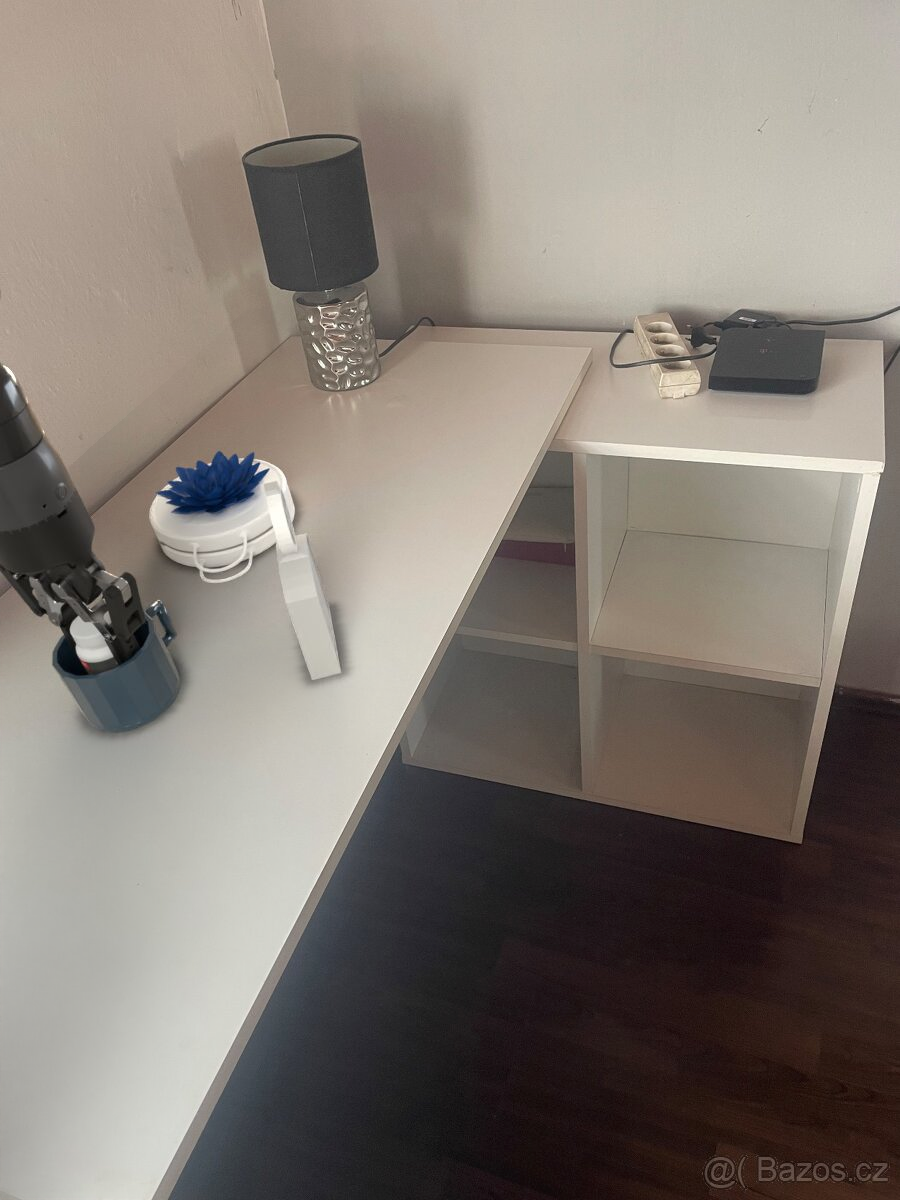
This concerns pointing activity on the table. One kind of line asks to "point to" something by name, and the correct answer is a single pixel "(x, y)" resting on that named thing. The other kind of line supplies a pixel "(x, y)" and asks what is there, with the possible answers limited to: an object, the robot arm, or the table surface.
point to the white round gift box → (217, 513)
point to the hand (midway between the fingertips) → (109, 655)
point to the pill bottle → (92, 646)
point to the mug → (125, 679)
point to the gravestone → (303, 589)
